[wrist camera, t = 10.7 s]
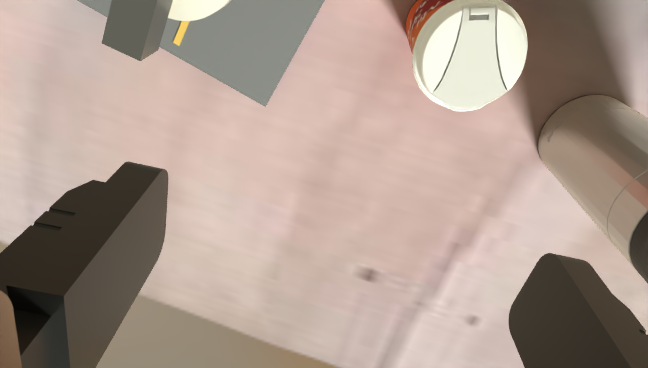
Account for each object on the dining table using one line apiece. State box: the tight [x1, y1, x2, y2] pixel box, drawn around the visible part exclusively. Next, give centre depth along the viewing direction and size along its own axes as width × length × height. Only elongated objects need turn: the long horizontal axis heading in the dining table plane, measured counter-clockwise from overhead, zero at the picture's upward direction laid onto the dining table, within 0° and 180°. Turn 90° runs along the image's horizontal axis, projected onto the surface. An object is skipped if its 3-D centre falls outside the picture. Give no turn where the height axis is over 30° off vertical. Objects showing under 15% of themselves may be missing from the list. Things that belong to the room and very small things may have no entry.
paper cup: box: [406, 0, 528, 111], centre depth 35 cm, size 8×8×14 cm
